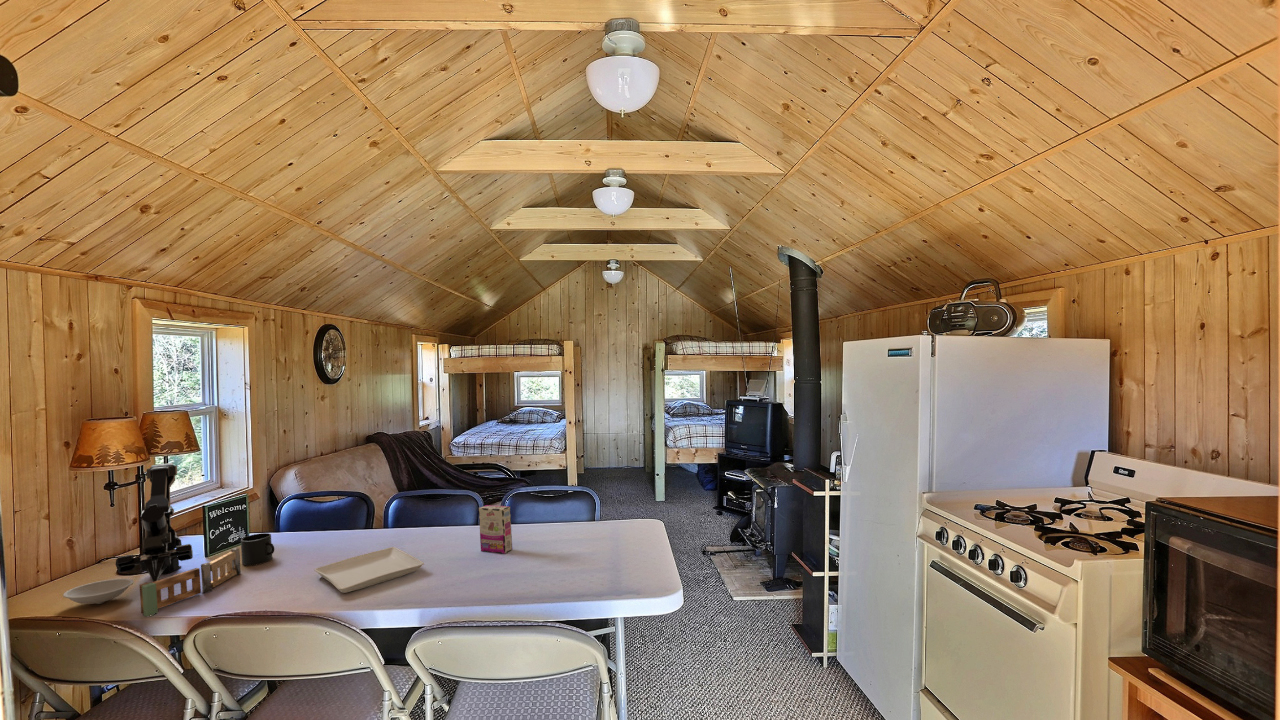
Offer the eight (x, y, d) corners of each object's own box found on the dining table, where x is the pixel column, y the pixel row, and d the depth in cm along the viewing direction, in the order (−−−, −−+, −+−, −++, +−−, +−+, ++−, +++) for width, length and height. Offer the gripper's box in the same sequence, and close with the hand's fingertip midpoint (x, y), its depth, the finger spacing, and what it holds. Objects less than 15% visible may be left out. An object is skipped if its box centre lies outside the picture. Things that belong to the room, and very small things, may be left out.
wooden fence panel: (200, 593, 188) (198, 565, 188) (235, 573, 204) (234, 547, 204) (208, 592, 188) (206, 565, 188) (242, 572, 204) (240, 547, 204)
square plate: (394, 555, 217) (393, 545, 217) (425, 573, 197) (425, 562, 197) (314, 577, 198) (313, 566, 198) (340, 600, 178) (339, 588, 178)
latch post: (153, 612, 175) (151, 582, 174) (157, 613, 174) (155, 583, 173) (143, 615, 172) (141, 585, 172) (148, 616, 171) (146, 586, 171)
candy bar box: (513, 549, 216) (511, 506, 216) (505, 554, 212) (503, 509, 211) (488, 546, 220) (486, 504, 220) (480, 551, 216) (477, 507, 215)
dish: (49, 615, 176) (48, 599, 175) (90, 595, 190) (89, 580, 190) (110, 611, 177) (109, 595, 177) (147, 591, 191) (146, 576, 191)
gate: (197, 592, 187) (196, 566, 187) (201, 593, 187) (199, 566, 186) (141, 612, 173) (139, 584, 173) (144, 613, 173) (142, 585, 172)
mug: (264, 566, 210) (263, 541, 210) (235, 565, 212) (234, 541, 212) (284, 556, 219) (283, 533, 219) (256, 556, 221) (255, 532, 221)
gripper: (114, 531, 181) (110, 577, 172) (189, 519, 192) (189, 562, 183) (120, 549, 188) (116, 595, 179) (192, 537, 198) (192, 579, 190)
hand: (154, 582), depth 183 cm, fingers closed
